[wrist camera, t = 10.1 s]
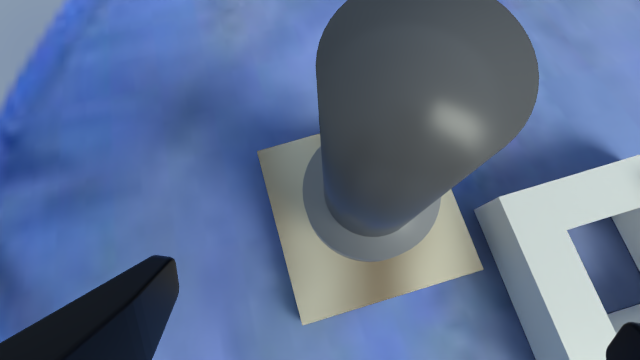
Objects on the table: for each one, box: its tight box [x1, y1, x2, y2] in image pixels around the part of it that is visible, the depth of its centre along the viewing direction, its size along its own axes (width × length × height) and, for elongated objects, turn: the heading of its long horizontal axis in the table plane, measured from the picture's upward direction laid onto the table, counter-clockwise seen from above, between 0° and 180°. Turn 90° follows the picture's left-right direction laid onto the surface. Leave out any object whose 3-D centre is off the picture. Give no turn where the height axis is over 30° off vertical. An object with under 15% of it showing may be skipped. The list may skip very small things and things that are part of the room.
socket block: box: [474, 155, 640, 360], centre depth 17 cm, size 9×9×4 cm
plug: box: [303, 0, 539, 262], centre depth 12 cm, size 5×5×13 cm
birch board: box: [257, 134, 484, 326], centre depth 19 cm, size 9×9×1 cm
